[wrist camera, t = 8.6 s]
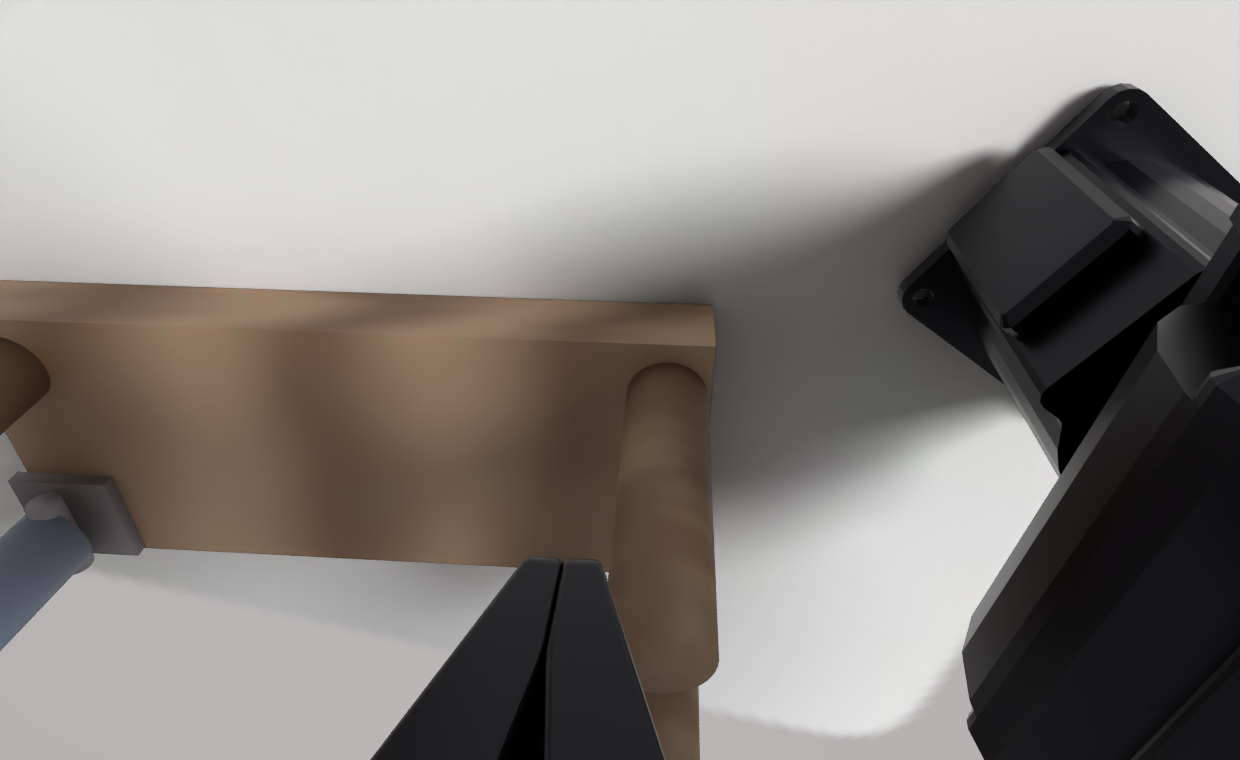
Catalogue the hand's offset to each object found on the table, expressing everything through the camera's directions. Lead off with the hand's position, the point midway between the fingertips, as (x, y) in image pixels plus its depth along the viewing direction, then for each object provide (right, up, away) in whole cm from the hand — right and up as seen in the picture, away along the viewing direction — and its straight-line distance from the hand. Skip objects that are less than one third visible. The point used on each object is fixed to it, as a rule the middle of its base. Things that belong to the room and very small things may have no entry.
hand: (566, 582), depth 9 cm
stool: (-7, +1, +14) cm, 16 cm away
